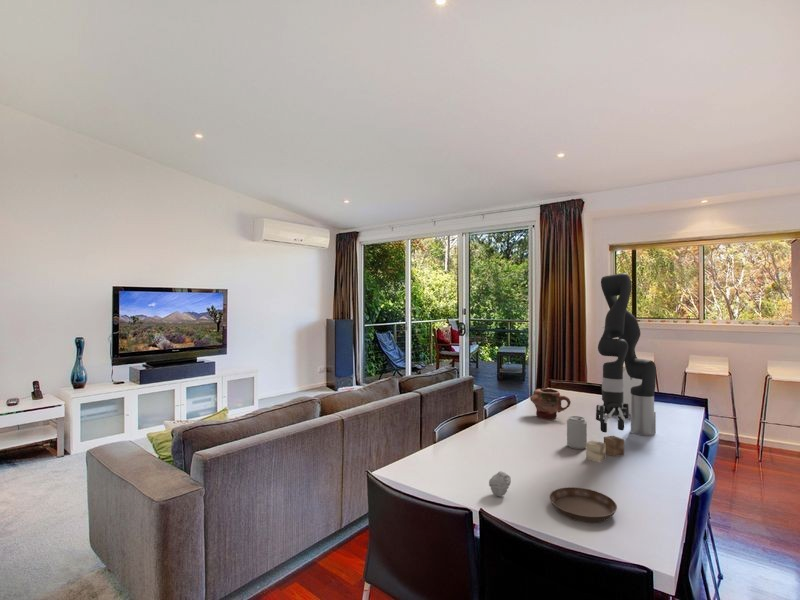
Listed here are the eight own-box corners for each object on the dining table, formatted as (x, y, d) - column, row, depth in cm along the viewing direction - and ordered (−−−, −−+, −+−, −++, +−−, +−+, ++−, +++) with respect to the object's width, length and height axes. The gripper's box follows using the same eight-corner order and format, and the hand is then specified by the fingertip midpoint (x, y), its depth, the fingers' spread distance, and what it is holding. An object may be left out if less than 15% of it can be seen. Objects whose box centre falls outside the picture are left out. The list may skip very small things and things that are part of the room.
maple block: (592, 455, 163) (592, 440, 163) (605, 459, 160) (605, 443, 160) (586, 458, 160) (586, 442, 160) (599, 462, 156) (599, 446, 156)
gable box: (618, 404, 244) (618, 355, 244) (644, 406, 238) (644, 357, 238) (617, 413, 225) (616, 360, 225) (645, 416, 219) (645, 362, 219)
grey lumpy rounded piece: (515, 497, 128) (515, 474, 128) (495, 501, 126) (495, 478, 126) (503, 489, 134) (503, 467, 134) (484, 492, 132) (484, 470, 132)
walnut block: (613, 450, 169) (613, 435, 169) (623, 454, 164) (623, 439, 164) (603, 452, 167) (603, 437, 167) (614, 456, 162) (614, 440, 162)
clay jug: (572, 417, 217) (572, 390, 217) (569, 423, 206) (568, 394, 206) (532, 412, 227) (532, 386, 227) (527, 417, 216) (527, 390, 216)
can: (588, 450, 169) (588, 420, 169) (568, 449, 170) (568, 419, 170) (584, 444, 176) (584, 415, 176) (565, 443, 178) (565, 414, 178)
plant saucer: (548, 520, 116) (548, 509, 116) (550, 492, 132) (550, 483, 132) (621, 532, 110) (621, 521, 110) (613, 502, 126) (613, 492, 126)
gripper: (618, 386, 172) (618, 426, 172) (591, 388, 167) (590, 429, 167) (634, 390, 165) (634, 432, 165) (606, 392, 160) (605, 435, 160)
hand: (612, 430), depth 166 cm, fingers open, 8 cm apart
